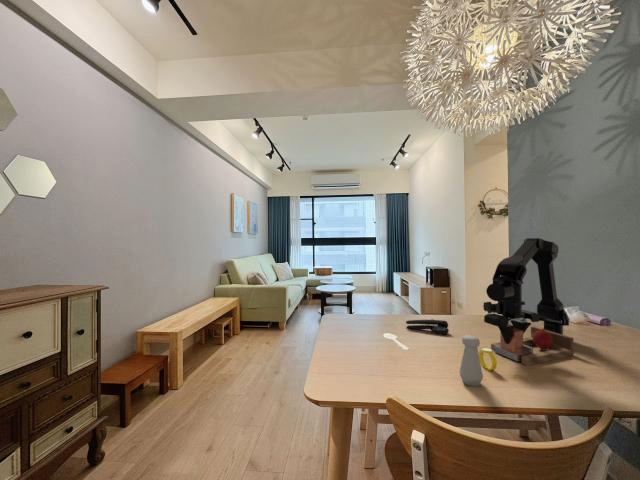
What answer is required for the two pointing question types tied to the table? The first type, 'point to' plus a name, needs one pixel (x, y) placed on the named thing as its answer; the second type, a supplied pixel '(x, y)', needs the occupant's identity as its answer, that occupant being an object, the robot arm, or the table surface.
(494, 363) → the watch
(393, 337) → the spoon
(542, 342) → the onion
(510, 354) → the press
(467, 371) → the salt shaker
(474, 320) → the table surface
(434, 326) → the can opener
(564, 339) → the bench
